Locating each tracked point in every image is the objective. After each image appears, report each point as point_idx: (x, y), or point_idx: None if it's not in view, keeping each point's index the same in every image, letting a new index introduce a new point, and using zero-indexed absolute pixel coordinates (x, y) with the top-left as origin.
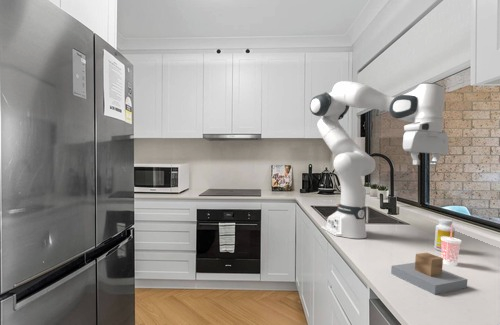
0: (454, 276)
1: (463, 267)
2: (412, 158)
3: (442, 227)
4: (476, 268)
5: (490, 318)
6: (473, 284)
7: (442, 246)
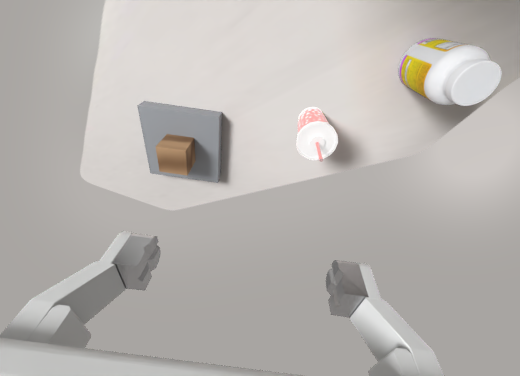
0: (209, 171)
1: None
2: (83, 271)
3: (431, 82)
4: None
5: (169, 208)
6: (243, 175)
7: (302, 123)
